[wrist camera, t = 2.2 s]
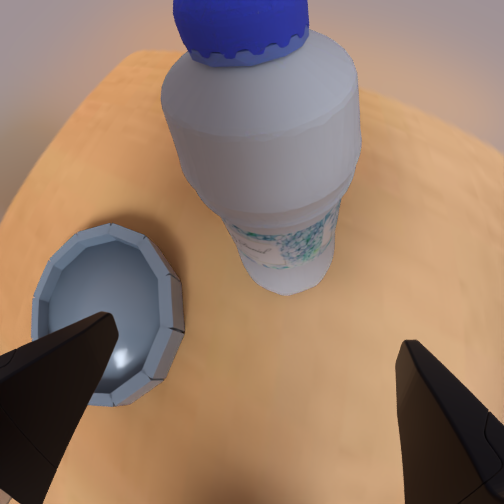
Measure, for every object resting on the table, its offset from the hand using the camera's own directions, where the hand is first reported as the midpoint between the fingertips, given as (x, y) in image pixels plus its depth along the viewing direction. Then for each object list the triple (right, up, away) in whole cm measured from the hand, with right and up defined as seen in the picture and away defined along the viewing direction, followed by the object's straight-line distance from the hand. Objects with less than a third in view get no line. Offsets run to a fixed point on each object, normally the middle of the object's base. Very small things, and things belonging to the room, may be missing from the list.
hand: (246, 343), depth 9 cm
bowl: (-12, -3, +15) cm, 20 cm away
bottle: (+3, +2, +15) cm, 15 cm away
